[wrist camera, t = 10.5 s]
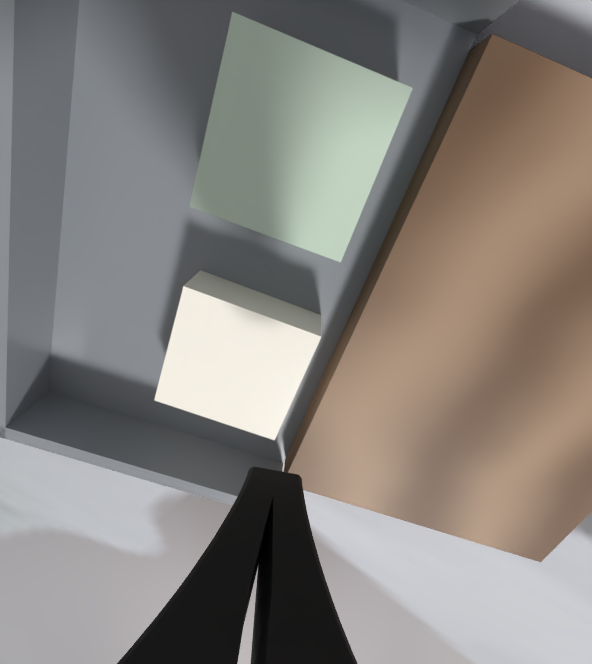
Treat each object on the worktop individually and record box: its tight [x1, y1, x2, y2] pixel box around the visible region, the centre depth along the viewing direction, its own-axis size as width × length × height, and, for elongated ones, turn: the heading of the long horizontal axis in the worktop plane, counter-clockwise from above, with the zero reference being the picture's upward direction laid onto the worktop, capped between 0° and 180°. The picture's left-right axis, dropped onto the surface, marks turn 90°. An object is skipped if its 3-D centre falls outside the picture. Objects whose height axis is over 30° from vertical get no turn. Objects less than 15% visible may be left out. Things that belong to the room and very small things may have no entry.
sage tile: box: [189, 12, 413, 262], centre depth 12 cm, size 5×5×2 cm
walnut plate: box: [284, 34, 592, 562], centre depth 15 cm, size 13×17×2 cm
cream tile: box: [154, 270, 322, 440], centre depth 15 cm, size 5×5×2 cm
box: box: [0, 0, 520, 506], centre depth 13 cm, size 12×19×3 cm, turn 161°
